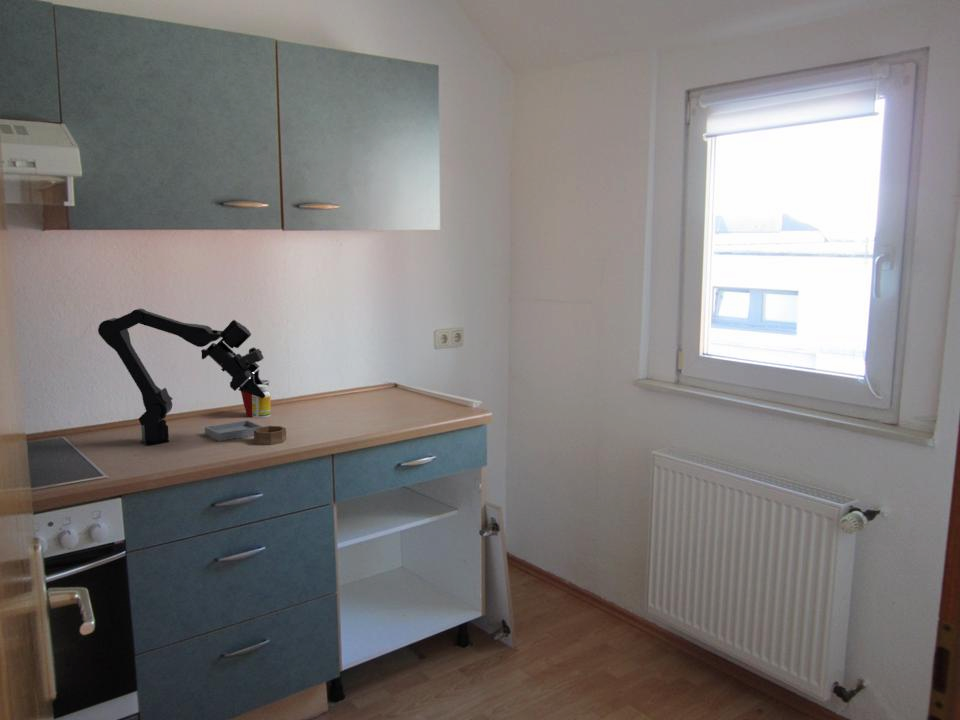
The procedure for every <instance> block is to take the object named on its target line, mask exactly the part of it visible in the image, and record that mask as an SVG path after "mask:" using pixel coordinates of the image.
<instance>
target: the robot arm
mask: <svg viewBox="0 0 960 720" xmlns="http://www.w3.org/2000/svg"><path fill="white" fill-rule="evenodd" d="M138 324H140V325H143V326H146V327H150V328H153V329H155V330H160V331H162V332H164V333H168V334H172V335H175V336H177V337H179V338H181V339H183V340H185V341H186V342H187V343H189V344H191V345H193V346H195V347H197V348H203V347H205V346H208V345H209V346H208V347H207V348H203V349H201V360H205V359H207V358H208V356H209V357H210V358H211V359H212V360H213V361H214V362H215V363H216V365H218V366H219V367H221V369H220V370H221V371H222V372H223V373H224V372H225V373H227V374H228V376H230V377H231V381H230V382H229V387H230V388H231V389H232V390H233V391H234V392H235V391H237V390H238V391H240V392H241V391H243V392H246V393H249V394H252V395H255V396H258V397H260V398H264V397H265V394H264V393H263V392H262V390H261V389H260V388H259V386H258V385H261V384H263V383H262V381H261V380H262V379H261V378H260V369H259V368H260V365H259V364H257V363H258V362H260V361H262V360H263V359H264V356H263V354H262V350H260V348H256V347H251V348H249V349H248V353H246V354H245V355H241V354H240V353H235V352H234V351H233V350H232V349H234V348H236V349H239V348H240V347H241V346H242V345H243V343H245V342H246V341H247V340H248V339H249V338H250V337H251V336H252V332H250V330H249V329H248V328H247V327H246V326H245V325H242V324H241V323H240V322H238V321H237V320H236V319H232V321H231V322H230V323H229V324H228V325H227V326H226V327H225V328H224V329H223V330H217V329H213V328H212V327H210V326H209V325H204V324H198V323H188V322H183V321H179V320H175V319H173V318H169V317H167V316H163V315H159V314H157V313H154V312H150V311H147V310H146V309H144V308H137V309H133V310H132V311H131V312H129V313H127V314H123V315H122V316H120V317H118V318H117V317H113V318H110V319H105V320H103V321H102V322H100V324H99V326H98V329H97V333H98V335H99V336H100V337H101V338H102V340H104V341H103V342H105V344H107V345H108V346H109V347H111V348H112V349H113V350H114V351H115V352H116V353H117V355H118V357H119V359H120V360H121V362H122V364H123V365H124V367H125V368H126V370H127V371H128V374H129V375H130V376H131V378H132V380H133V381H134V384H135V385H136V386H137V388H138V389H139V391H140V393H141V396H142V397H141V398H142V402H143V403H142V404H143V406H144V409H145V411H144V412H143V413H142V414H141V415H140V416H139V418H138V421H139V423H140V427H141V439H140V440H139V441H140V442H141V443H142V444H144V445H145V446H151V445H157V444H164V443H169V442H170V440H169V425H167V421H166V420H165V419H166V417H167V415H168V414H169V413H170V412H171V410H172V407H173V402H172V400H173V397H171V395H169V393H168V390H167V388H166V387H163V388H160V387H158V386H157V385H156V383H155V382H154V380H153V378H152V377H151V375H150V374H149V372H148V370H147V369H146V367H145V365H144V363H143V362H142V360H141V358H140V357H139V355H138V353H137V352H136V350H135V349H134V346H133V345H132V342H131V337H130V332H129V331H128V329H130V328H132V327H135V326H137V325H138ZM219 339H220V340H219ZM218 340H219V341H218ZM216 341H218V342H217V343H214V342H216ZM212 342H213V343H212ZM263 385H264V384H263ZM240 386H241V387H240ZM239 387H240V388H239ZM267 392H269V391H268V390H267Z"/></svg>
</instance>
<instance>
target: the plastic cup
mask: <svg viewBox="0 0 960 720" xmlns="http://www.w3.org/2000/svg"><path fill="white" fill-rule="evenodd" d="M260 380H261V381H262V383H263V384H264V385H268V386H269V384H270V380H269V379H260ZM240 387H241V386H240ZM240 387H239V388H240ZM239 388H238V389H239ZM240 393H241V398H242V402H243V405H244V409H245V414H246V416H247V417H248V416H249V418H254V417H253V416H252V394H249V393H246V392H243V391H240Z"/></svg>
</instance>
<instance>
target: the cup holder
mask: <svg viewBox="0 0 960 720" xmlns="http://www.w3.org/2000/svg"><path fill="white" fill-rule="evenodd" d="M253 439H254V443H255V442H256V444H257V445H265V444H270V445H271V446H272V445H277V443H278V444H283V443H284V442H286V440H287V428H286V427H283V426H281V425H267V426H263V427H260V428H257V429H256V430H254V435H253ZM265 446H266V445H265Z"/></svg>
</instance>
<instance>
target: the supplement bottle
mask: <svg viewBox="0 0 960 720" xmlns="http://www.w3.org/2000/svg"><path fill="white" fill-rule="evenodd" d="M258 386H259V388H260V389H261V390H262V392H263V393H264V394H265V397H264V398H260V397H258V396H255V395H252V416H253V417H252V418H254V419H268V418H270V417H271V413H272V411H271V409H272V407H271V404H272V403H271V392H269V391H268V390H269V385H263V384H261V385H258ZM267 391H268V392H267Z"/></svg>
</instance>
